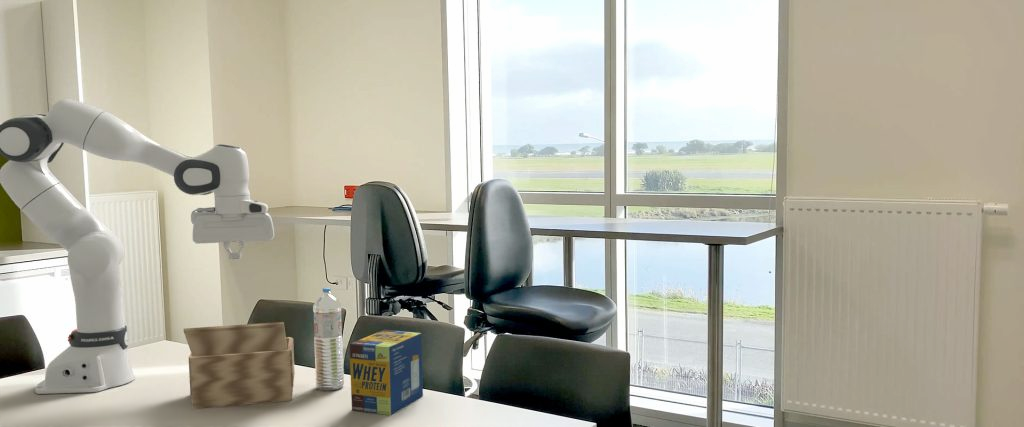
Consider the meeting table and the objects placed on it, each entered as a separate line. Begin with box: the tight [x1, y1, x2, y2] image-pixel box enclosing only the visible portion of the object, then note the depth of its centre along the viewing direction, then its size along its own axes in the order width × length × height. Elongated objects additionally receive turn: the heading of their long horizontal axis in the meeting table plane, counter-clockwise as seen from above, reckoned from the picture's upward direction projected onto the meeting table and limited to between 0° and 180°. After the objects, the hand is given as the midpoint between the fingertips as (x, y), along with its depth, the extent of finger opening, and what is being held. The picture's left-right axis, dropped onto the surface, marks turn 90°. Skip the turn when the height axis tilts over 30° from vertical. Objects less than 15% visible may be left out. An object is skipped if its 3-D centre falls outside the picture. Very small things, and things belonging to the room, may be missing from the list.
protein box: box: [349, 329, 424, 416], centre depth 181 cm, size 10×15×16 cm
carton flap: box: [182, 321, 287, 357], centre depth 177 cm, size 21×13×1 cm
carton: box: [188, 336, 296, 410], centre depth 189 cm, size 23×14×12 cm, turn 104°
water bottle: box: [312, 287, 345, 392], centre depth 194 cm, size 7×7×25 cm
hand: (235, 259), depth 206 cm, fingers closed
